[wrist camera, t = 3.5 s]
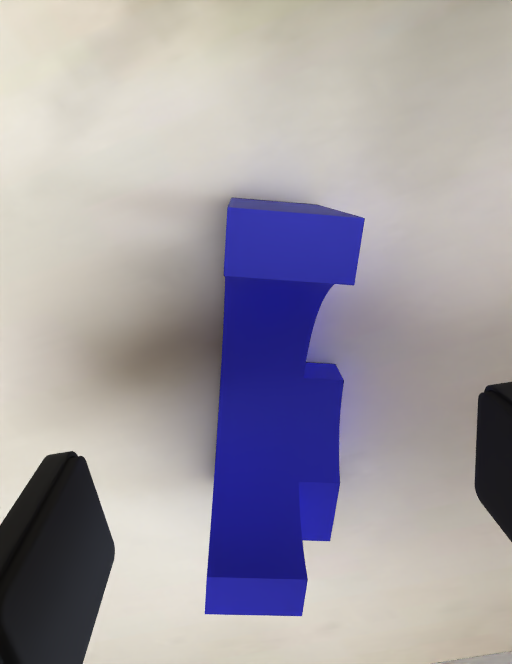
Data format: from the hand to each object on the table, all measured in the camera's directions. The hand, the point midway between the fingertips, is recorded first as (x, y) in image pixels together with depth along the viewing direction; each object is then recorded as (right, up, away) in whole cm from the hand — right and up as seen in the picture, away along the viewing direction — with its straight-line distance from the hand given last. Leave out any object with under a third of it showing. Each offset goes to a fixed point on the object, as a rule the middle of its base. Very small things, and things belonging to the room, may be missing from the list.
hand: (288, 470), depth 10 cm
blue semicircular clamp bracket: (0, +2, +7) cm, 7 cm away
